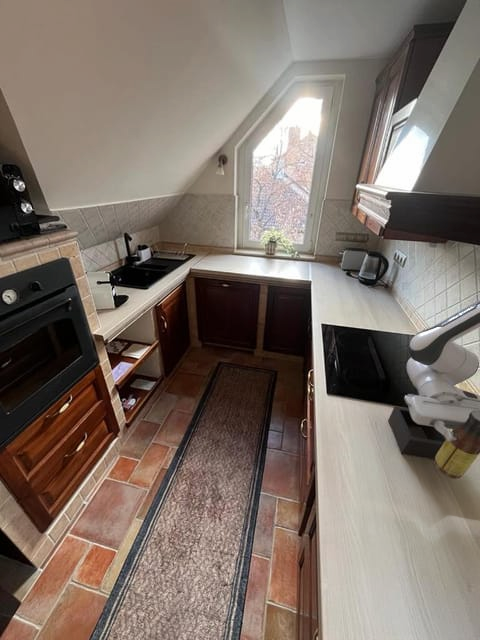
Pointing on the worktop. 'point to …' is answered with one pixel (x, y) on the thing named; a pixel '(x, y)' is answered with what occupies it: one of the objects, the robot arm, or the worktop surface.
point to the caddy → (412, 444)
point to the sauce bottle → (460, 448)
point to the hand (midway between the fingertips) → (470, 442)
